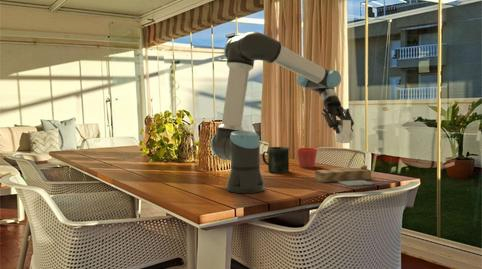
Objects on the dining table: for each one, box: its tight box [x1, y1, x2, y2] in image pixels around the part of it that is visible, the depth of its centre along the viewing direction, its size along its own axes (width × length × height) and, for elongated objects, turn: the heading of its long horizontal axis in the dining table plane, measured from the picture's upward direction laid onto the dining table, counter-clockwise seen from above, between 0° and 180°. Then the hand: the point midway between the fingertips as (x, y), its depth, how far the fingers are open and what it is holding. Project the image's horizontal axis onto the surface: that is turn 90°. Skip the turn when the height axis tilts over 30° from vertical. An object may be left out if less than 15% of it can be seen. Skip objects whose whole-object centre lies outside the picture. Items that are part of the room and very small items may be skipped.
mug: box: [261, 146, 290, 174], centre depth 209 cm, size 11×15×12 cm
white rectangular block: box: [335, 119, 352, 144], centre depth 184 cm, size 4×6×10 cm, turn 14°
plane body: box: [314, 164, 372, 183], centre depth 186 cm, size 24×7×6 cm, turn 104°
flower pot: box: [296, 147, 318, 168], centre depth 223 cm, size 11×11×10 cm
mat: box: [337, 179, 374, 187], centre depth 175 cm, size 12×9×1 cm
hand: (347, 138), depth 181 cm, fingers closed on white rectangular block, 4 cm apart
